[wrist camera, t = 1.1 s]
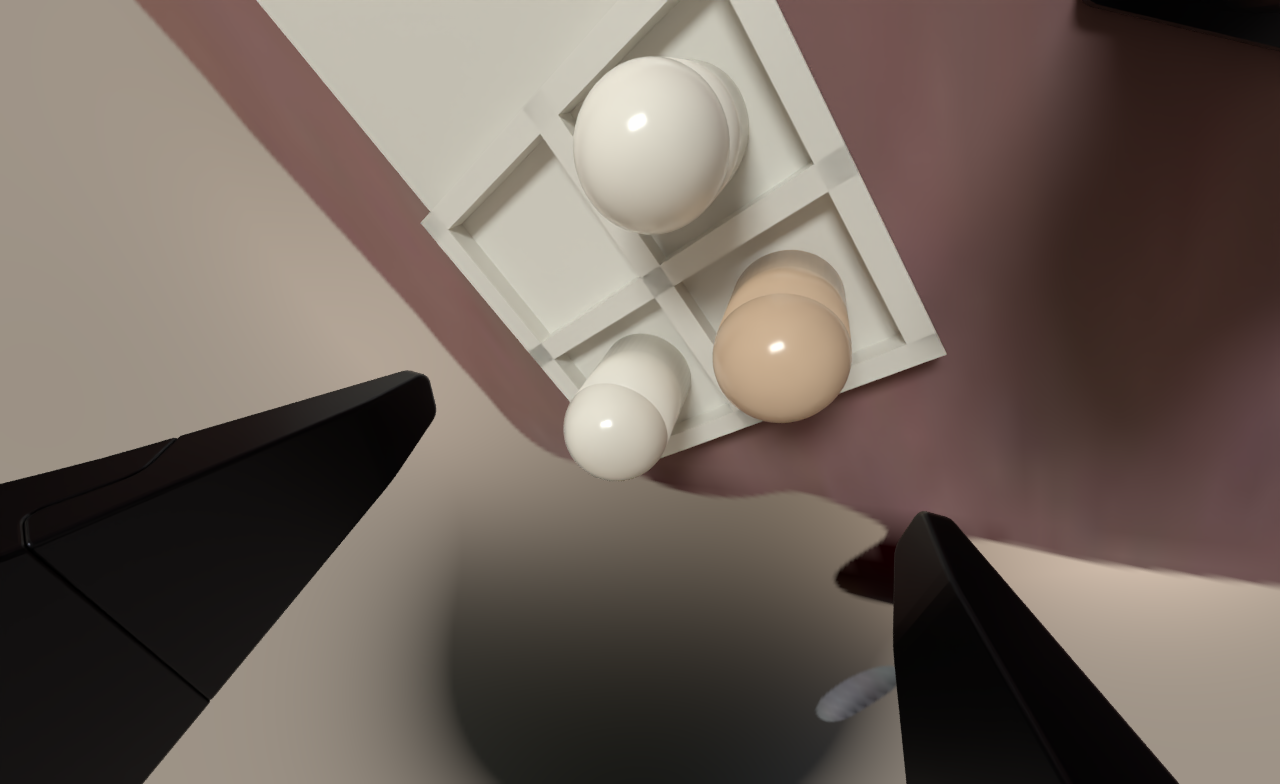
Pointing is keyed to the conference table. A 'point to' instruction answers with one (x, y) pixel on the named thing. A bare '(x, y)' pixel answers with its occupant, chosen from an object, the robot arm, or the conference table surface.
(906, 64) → the conference table surface
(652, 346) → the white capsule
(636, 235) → the egg carton
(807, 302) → the brown egg
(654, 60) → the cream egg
